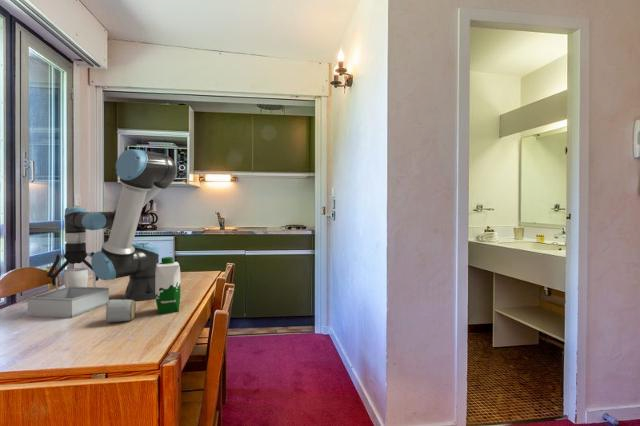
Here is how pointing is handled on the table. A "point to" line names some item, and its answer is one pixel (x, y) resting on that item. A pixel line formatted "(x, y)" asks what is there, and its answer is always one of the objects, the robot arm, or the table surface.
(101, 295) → the crate
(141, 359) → the table surface
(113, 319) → the grey cylinder
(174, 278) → the milk carton
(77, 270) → the cup
